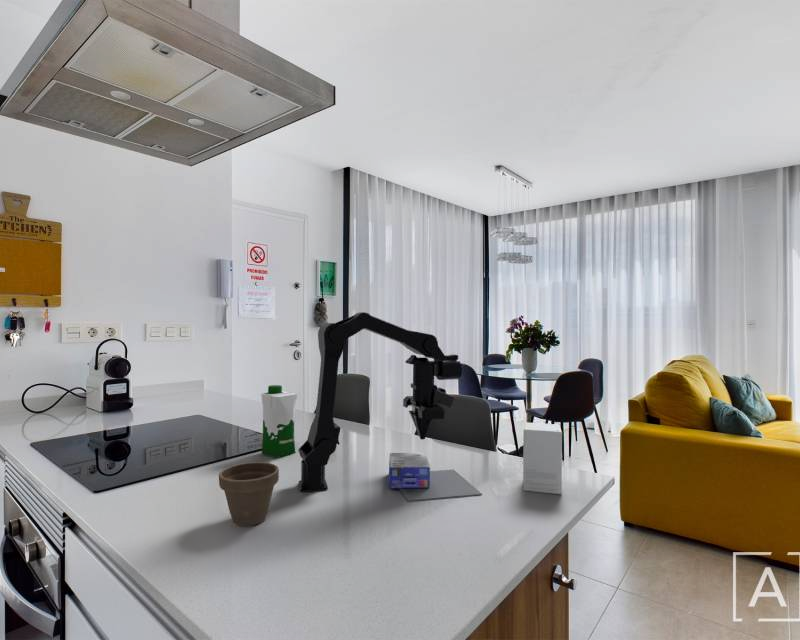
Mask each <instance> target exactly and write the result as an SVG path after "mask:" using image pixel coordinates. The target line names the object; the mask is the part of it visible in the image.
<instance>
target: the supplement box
mask: <svg viewBox="0 0 800 640" xmlns="http://www.w3.org/2000/svg"><path fill="white" fill-rule="evenodd" d="M522 439H523V444H522V446H523V447H522V449H523V451H522V452H523V454H522V455H523V456H522V457H523V458H522V461H523V462H522V467H523V468H522V471H523V472H522V474H523V476H522V478H523V479H522V481H523V482H522V484H523V485H522V486H523V487H522V488H523V491H524V492H533V493H535V492H536V493H543V494H544V493H545V494H553V495H554V494H555V495H562V494H563V493H562V491H563V490H562V487H563V485H562V483H563V482H562V481H563V480H562V478H563V469H562V468H563V451H562V450H563V431H562V429H561V426H560V424H558V423H557V424H556V423H553V424H552V423H540V422H527V421H525V422H524V425H523V438H522Z"/></svg>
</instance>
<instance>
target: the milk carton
mask: <svg viewBox="0 0 800 640" xmlns="http://www.w3.org/2000/svg"><path fill="white" fill-rule="evenodd" d="M267 387H268V389H267V392H264V393H260V395H261V402H262V403H261V404H262V442H261V443H262V444H261V454H262V455H265V456H269V457H272V458H274V459H275V458H276V459H277V458H278V459H279V458H282V457H285V456H288V455H293V454H295V453H296V443H295V442H296V441H295V409H296V407H295V406H296V401H297V398H298V395H299V394H298V393H296V392H295V393H293V392H292V391H291V392H290V391H284V390H283V386H282V385H278V384H275V385H274V384H273V385H268V386H267Z"/></svg>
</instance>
